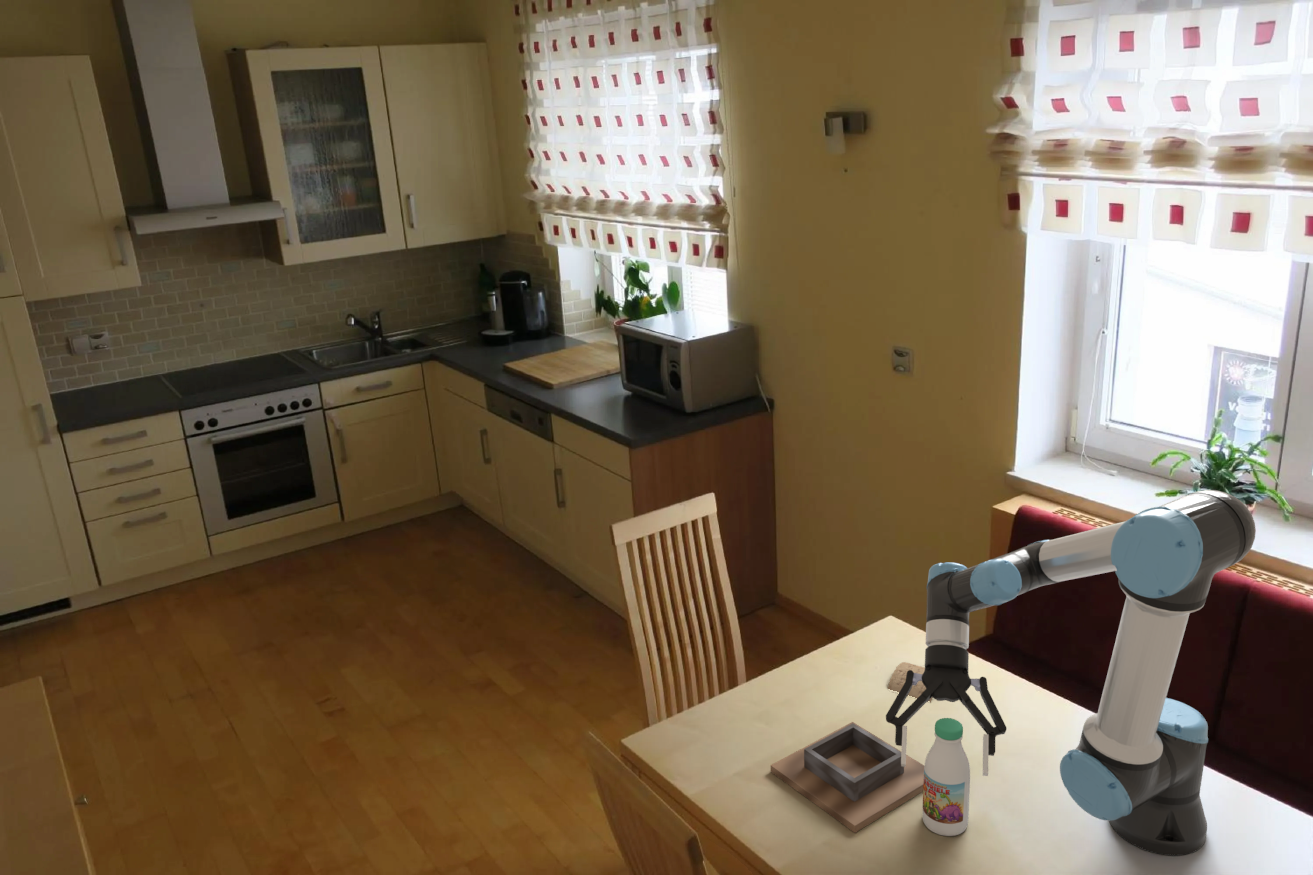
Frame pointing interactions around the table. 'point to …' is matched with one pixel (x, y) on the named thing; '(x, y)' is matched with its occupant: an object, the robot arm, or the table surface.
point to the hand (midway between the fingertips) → (943, 770)
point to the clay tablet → (900, 678)
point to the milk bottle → (946, 781)
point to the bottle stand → (852, 775)
